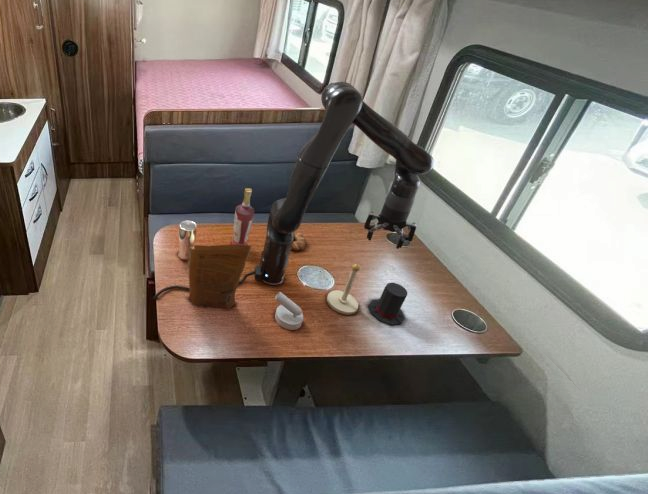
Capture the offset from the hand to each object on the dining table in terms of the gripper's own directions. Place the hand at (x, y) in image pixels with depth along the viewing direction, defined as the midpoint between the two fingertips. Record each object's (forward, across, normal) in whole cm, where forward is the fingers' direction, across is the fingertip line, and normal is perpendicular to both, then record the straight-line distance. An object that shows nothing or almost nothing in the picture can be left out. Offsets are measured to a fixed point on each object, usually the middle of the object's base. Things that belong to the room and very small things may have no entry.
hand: (383, 243), depth 135 cm
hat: (+20, +7, -10) cm, 24 cm away
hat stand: (+20, -7, -14) cm, 25 cm away
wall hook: (+20, -22, -31) cm, 43 cm away
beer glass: (+19, -65, -20) cm, 71 cm away
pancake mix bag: (+19, -46, -38) cm, 63 cm away
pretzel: (+20, -30, +10) cm, 37 cm away
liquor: (+19, -48, -4) cm, 52 cm away
